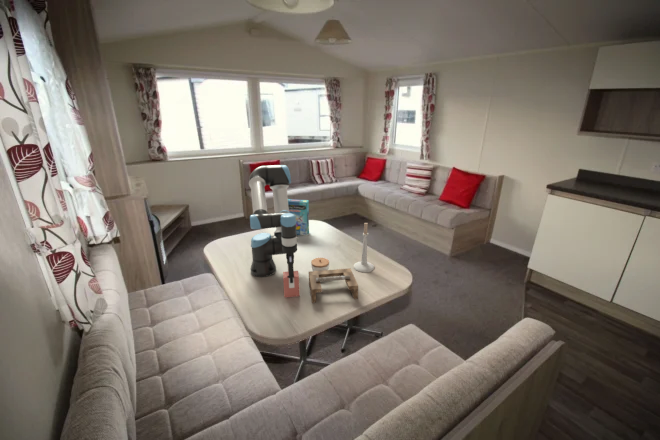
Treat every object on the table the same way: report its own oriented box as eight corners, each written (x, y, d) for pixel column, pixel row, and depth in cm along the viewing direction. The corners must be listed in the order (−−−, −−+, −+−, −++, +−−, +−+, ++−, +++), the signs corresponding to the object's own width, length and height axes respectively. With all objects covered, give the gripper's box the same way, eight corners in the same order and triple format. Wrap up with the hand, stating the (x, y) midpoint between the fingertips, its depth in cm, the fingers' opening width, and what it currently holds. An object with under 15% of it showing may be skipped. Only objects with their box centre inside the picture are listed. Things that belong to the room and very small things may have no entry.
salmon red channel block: (284, 297, 161) (283, 277, 157) (284, 291, 166) (283, 271, 162) (299, 296, 162) (298, 276, 158) (298, 289, 168) (298, 270, 163)
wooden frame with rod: (312, 302, 156) (311, 286, 153) (308, 283, 173) (308, 268, 170) (357, 298, 160) (358, 282, 157) (350, 280, 177) (350, 265, 173)
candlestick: (378, 268, 189) (381, 224, 179) (361, 274, 183) (363, 228, 173) (365, 260, 200) (368, 217, 189) (349, 265, 194) (351, 221, 183)
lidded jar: (316, 279, 178) (315, 265, 174) (308, 271, 187) (308, 257, 183) (332, 275, 182) (332, 261, 179) (324, 267, 191) (324, 253, 188)
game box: (282, 233, 241) (280, 200, 231) (284, 230, 246) (283, 198, 237) (307, 235, 237) (306, 202, 228) (309, 232, 243) (308, 200, 234)
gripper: (298, 254, 143) (299, 293, 150) (295, 234, 166) (296, 268, 173) (282, 255, 142) (284, 294, 149) (281, 234, 165) (283, 269, 172)
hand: (291, 280), depth 161 cm, fingers open, 13 cm apart
